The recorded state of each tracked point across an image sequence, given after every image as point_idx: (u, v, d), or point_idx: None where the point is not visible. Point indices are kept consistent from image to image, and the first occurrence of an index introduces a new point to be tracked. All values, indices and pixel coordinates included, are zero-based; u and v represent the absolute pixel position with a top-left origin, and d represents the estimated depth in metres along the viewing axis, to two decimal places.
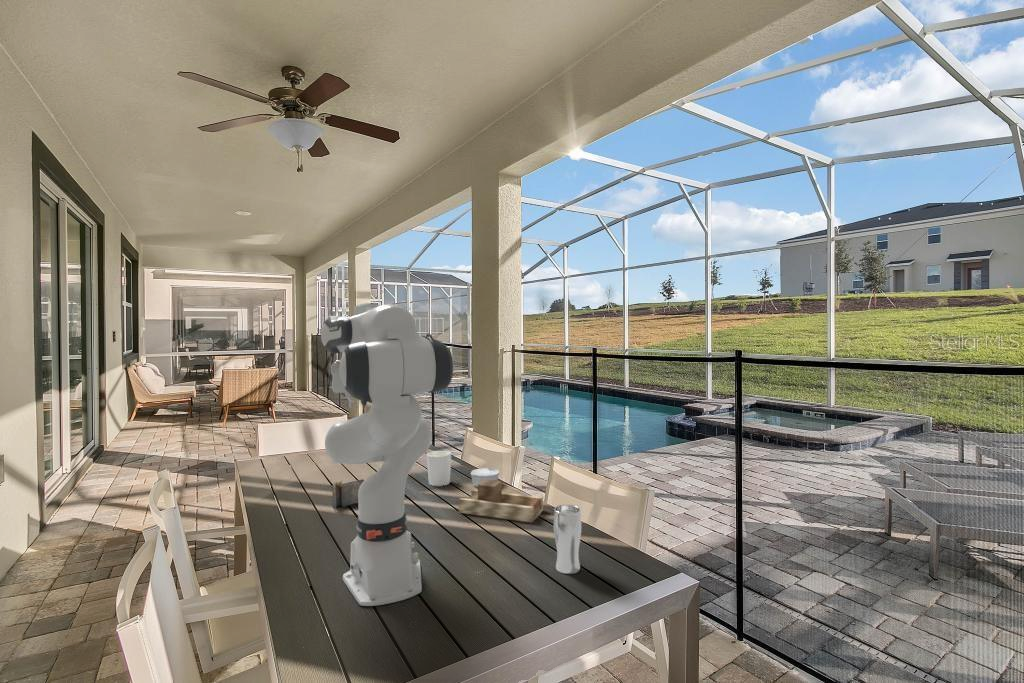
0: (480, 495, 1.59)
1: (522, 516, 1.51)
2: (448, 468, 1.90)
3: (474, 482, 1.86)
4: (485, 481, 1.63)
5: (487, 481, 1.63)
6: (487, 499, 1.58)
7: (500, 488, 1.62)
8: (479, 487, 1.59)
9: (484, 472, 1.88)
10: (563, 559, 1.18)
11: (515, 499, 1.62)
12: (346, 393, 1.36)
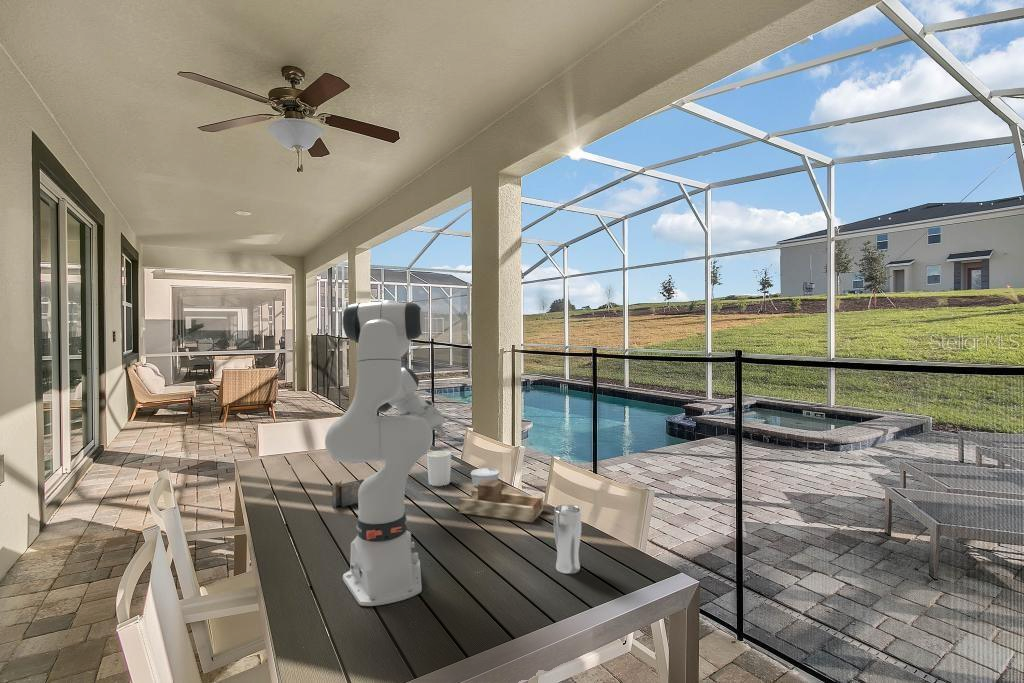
0: (480, 495, 1.59)
1: (522, 516, 1.51)
2: (448, 468, 1.90)
3: (474, 482, 1.86)
4: (485, 481, 1.63)
5: (487, 481, 1.63)
6: (487, 499, 1.58)
7: (500, 488, 1.62)
8: (479, 487, 1.59)
9: (484, 472, 1.88)
10: (563, 559, 1.18)
11: (515, 499, 1.62)
12: None
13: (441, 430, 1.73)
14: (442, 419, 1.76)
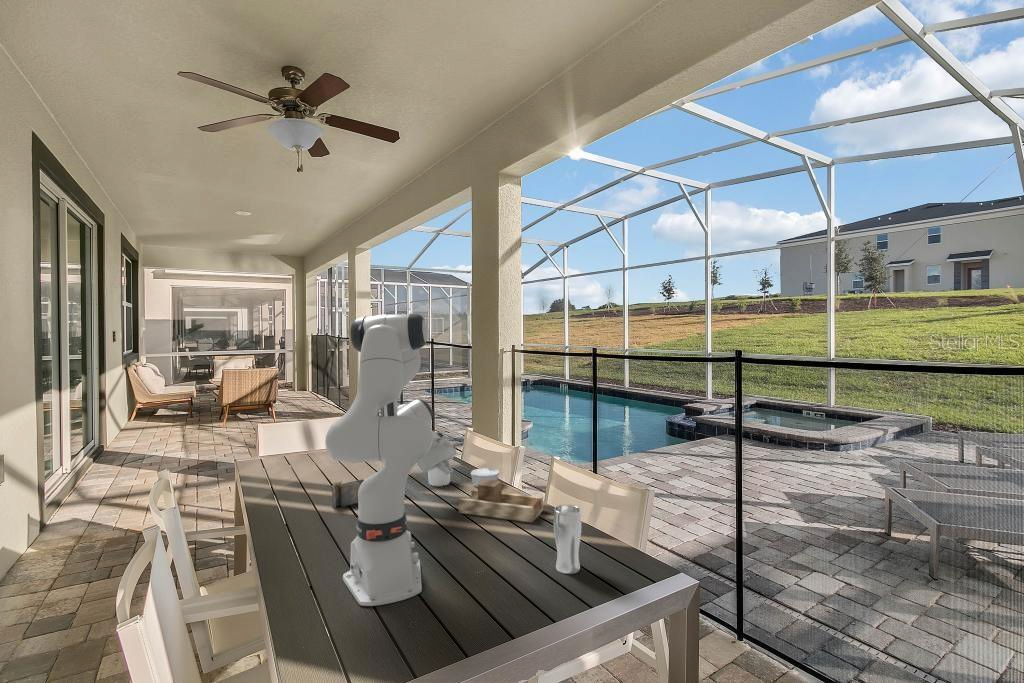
0: (480, 495, 1.59)
1: (522, 516, 1.51)
2: None
3: (474, 482, 1.86)
4: (485, 481, 1.63)
5: (487, 481, 1.63)
6: (487, 499, 1.58)
7: (500, 488, 1.62)
8: (479, 487, 1.59)
9: (484, 472, 1.88)
10: (563, 559, 1.18)
11: (515, 499, 1.62)
12: (441, 463, 1.65)
13: (448, 465, 1.68)
14: (454, 451, 1.75)
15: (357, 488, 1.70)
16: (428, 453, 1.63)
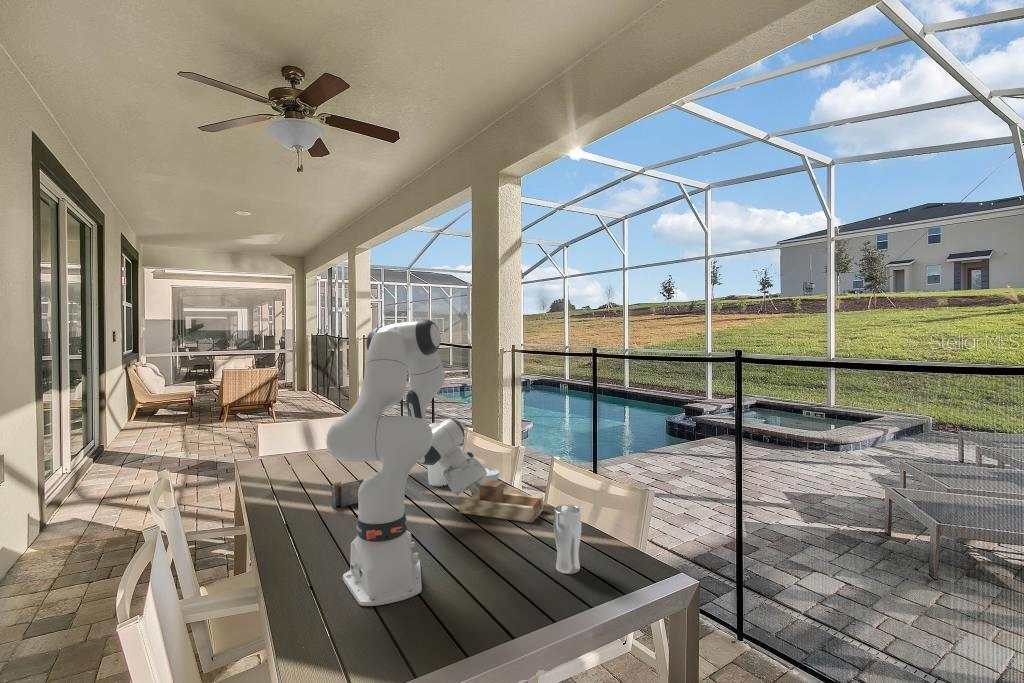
0: (482, 496, 1.58)
1: (522, 516, 1.51)
2: None
3: None
4: (487, 481, 1.62)
5: (489, 481, 1.62)
6: (489, 499, 1.58)
7: (502, 488, 1.62)
8: (481, 487, 1.59)
9: None
10: (563, 559, 1.18)
11: (515, 499, 1.62)
12: (472, 485, 1.61)
13: (479, 487, 1.64)
14: (484, 471, 1.71)
15: (357, 488, 1.70)
16: (460, 475, 1.59)
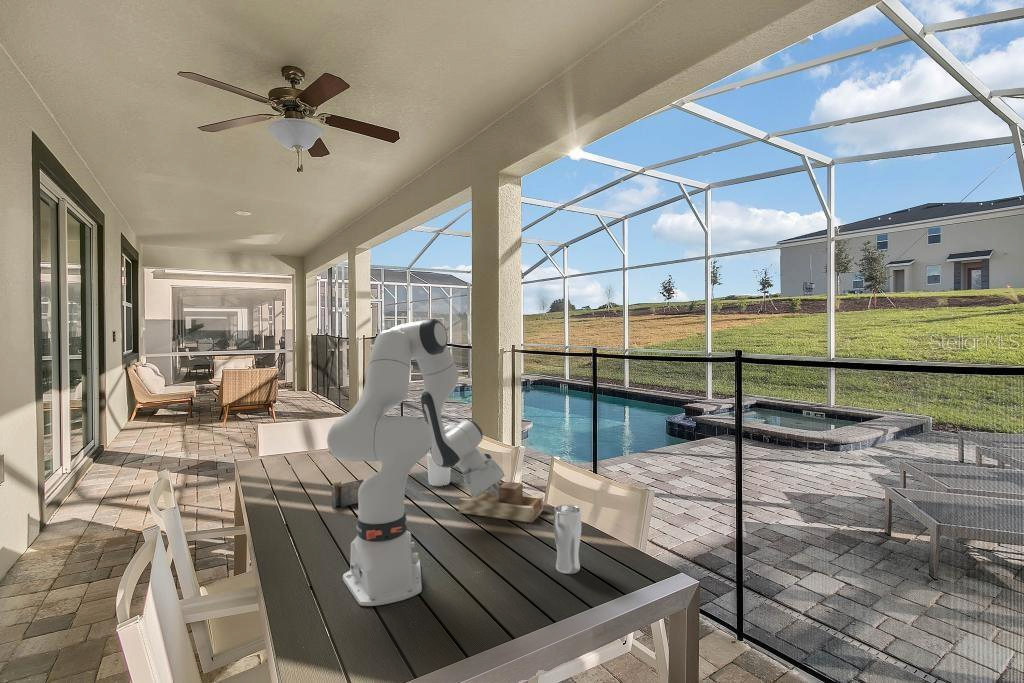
0: (501, 498, 1.56)
1: (522, 516, 1.51)
2: (448, 468, 1.90)
3: None
4: (505, 483, 1.60)
5: (508, 483, 1.60)
6: (508, 502, 1.55)
7: (521, 490, 1.59)
8: (500, 489, 1.56)
9: None
10: (563, 559, 1.18)
11: None
12: (491, 487, 1.58)
13: (497, 489, 1.61)
14: (502, 473, 1.68)
15: (357, 488, 1.70)
16: (478, 477, 1.57)
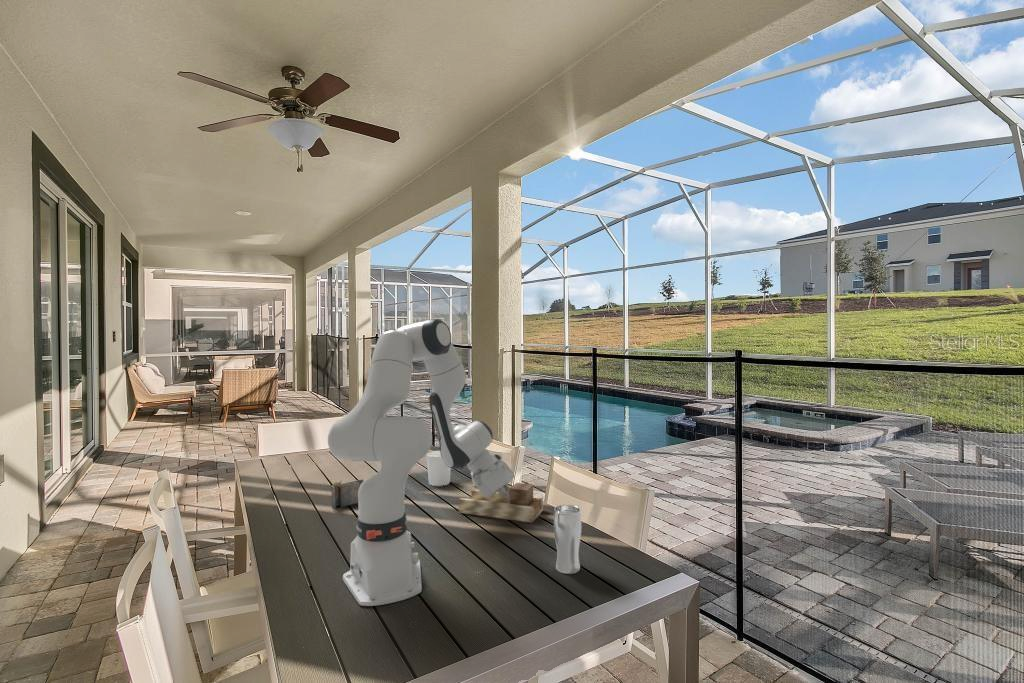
0: (512, 499, 1.55)
1: (522, 516, 1.51)
2: (448, 468, 1.90)
3: (474, 482, 1.86)
4: (516, 484, 1.58)
5: (518, 484, 1.58)
6: (519, 503, 1.54)
7: (532, 492, 1.58)
8: (511, 491, 1.55)
9: None
10: (563, 559, 1.18)
11: None
12: (502, 488, 1.57)
13: (508, 490, 1.60)
14: (512, 474, 1.67)
15: (357, 488, 1.70)
16: (489, 478, 1.55)
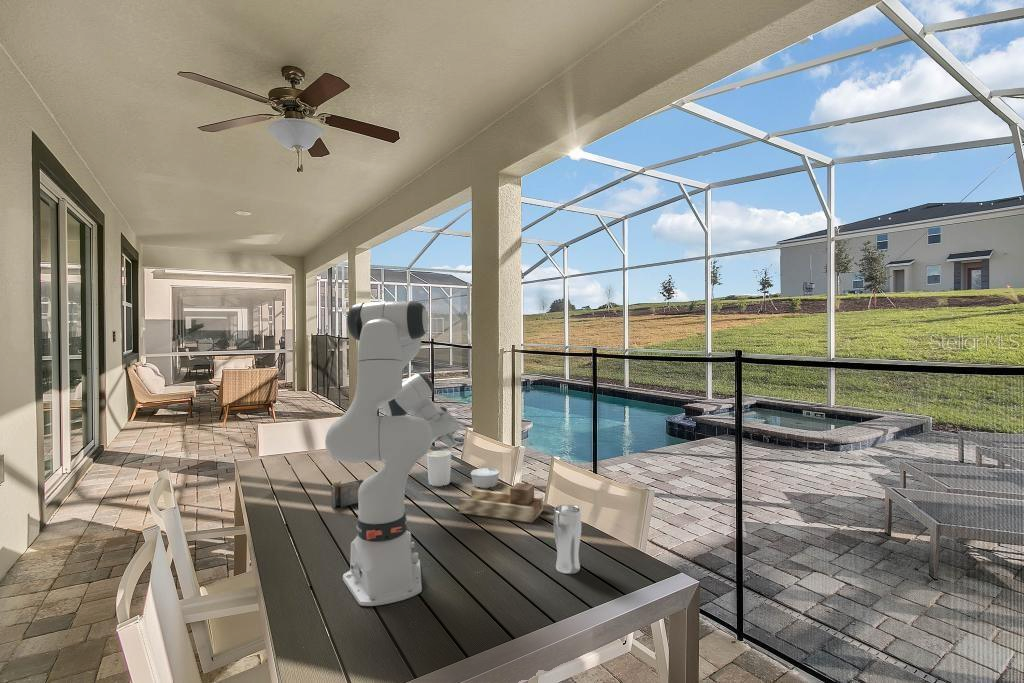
0: (513, 499, 1.54)
1: (522, 516, 1.51)
2: (448, 468, 1.90)
3: (474, 482, 1.86)
4: (517, 484, 1.58)
5: (519, 484, 1.58)
6: (520, 503, 1.54)
7: (533, 492, 1.58)
8: (512, 491, 1.55)
9: (484, 472, 1.88)
10: (563, 559, 1.18)
11: None
12: (444, 436, 1.65)
13: (451, 439, 1.67)
14: (457, 425, 1.74)
15: (356, 488, 1.70)
16: (431, 425, 1.63)
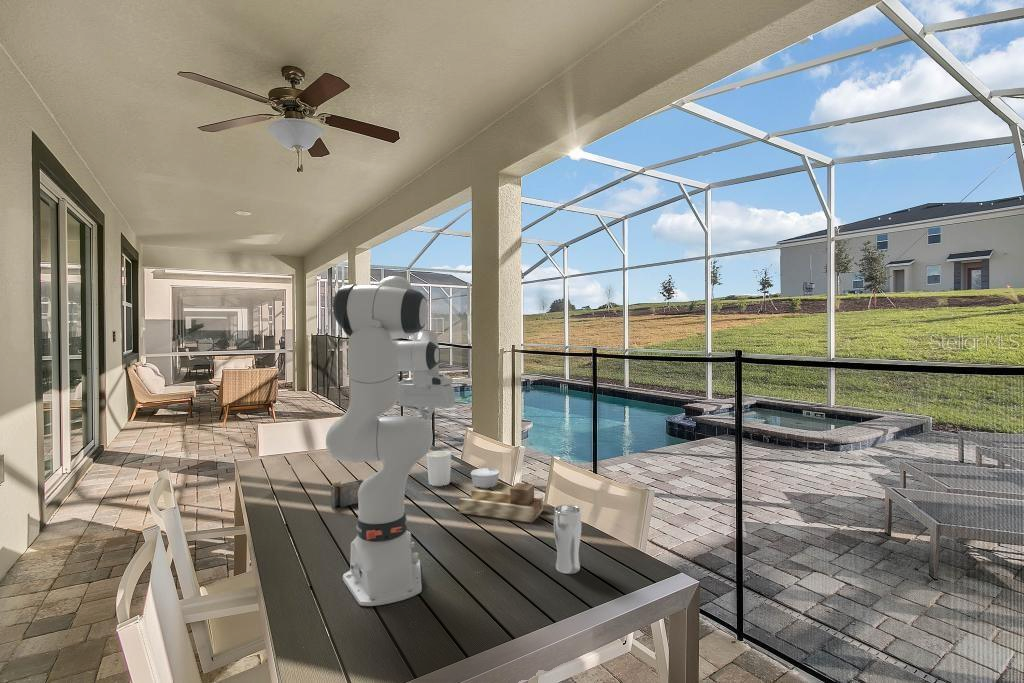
0: (513, 499, 1.54)
1: (522, 516, 1.51)
2: (448, 468, 1.90)
3: (474, 482, 1.86)
4: (517, 484, 1.58)
5: (519, 484, 1.58)
6: (520, 503, 1.54)
7: (533, 492, 1.58)
8: (512, 491, 1.55)
9: (484, 472, 1.88)
10: (563, 559, 1.18)
11: None
12: (418, 407, 1.59)
13: None
14: (445, 404, 1.54)
15: (356, 488, 1.70)
16: (409, 392, 1.59)
